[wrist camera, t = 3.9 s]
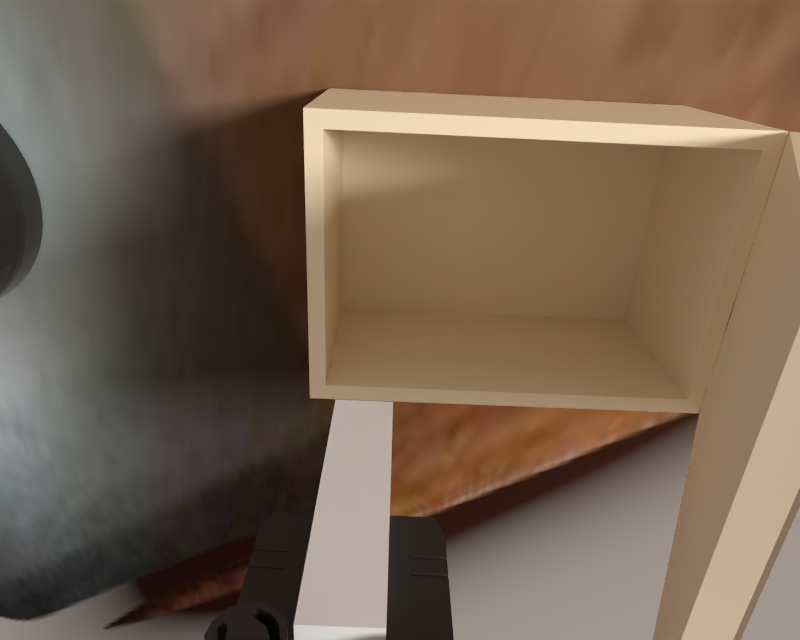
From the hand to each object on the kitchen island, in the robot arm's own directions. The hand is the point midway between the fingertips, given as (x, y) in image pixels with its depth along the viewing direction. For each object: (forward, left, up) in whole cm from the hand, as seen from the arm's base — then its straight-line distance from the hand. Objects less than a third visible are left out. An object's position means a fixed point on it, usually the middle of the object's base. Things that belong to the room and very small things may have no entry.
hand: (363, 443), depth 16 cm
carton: (+7, 0, -23) cm, 23 cm away
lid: (+12, 0, -4) cm, 12 cm away
